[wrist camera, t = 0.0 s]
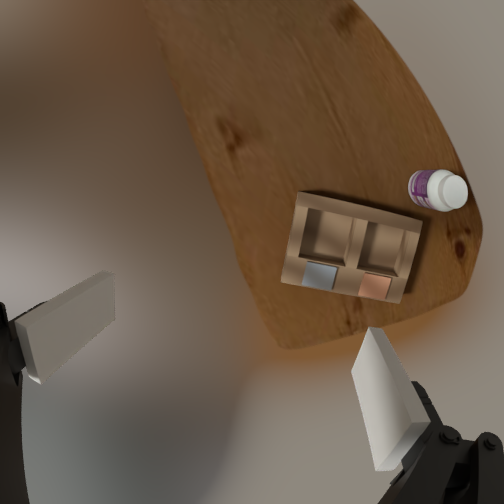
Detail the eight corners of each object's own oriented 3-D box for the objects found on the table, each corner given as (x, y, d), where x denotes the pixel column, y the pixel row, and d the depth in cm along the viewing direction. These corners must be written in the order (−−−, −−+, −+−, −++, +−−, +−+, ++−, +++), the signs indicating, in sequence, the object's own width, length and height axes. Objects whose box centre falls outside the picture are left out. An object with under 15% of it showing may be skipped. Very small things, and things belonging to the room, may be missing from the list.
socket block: (298, 190, 39) (299, 191, 35) (412, 218, 38) (424, 221, 34) (281, 274, 42) (280, 283, 38) (392, 294, 41) (400, 304, 37)
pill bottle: (404, 202, 37) (435, 209, 28) (409, 166, 36) (440, 164, 27) (434, 209, 37) (468, 218, 28) (439, 175, 36) (474, 175, 26)
